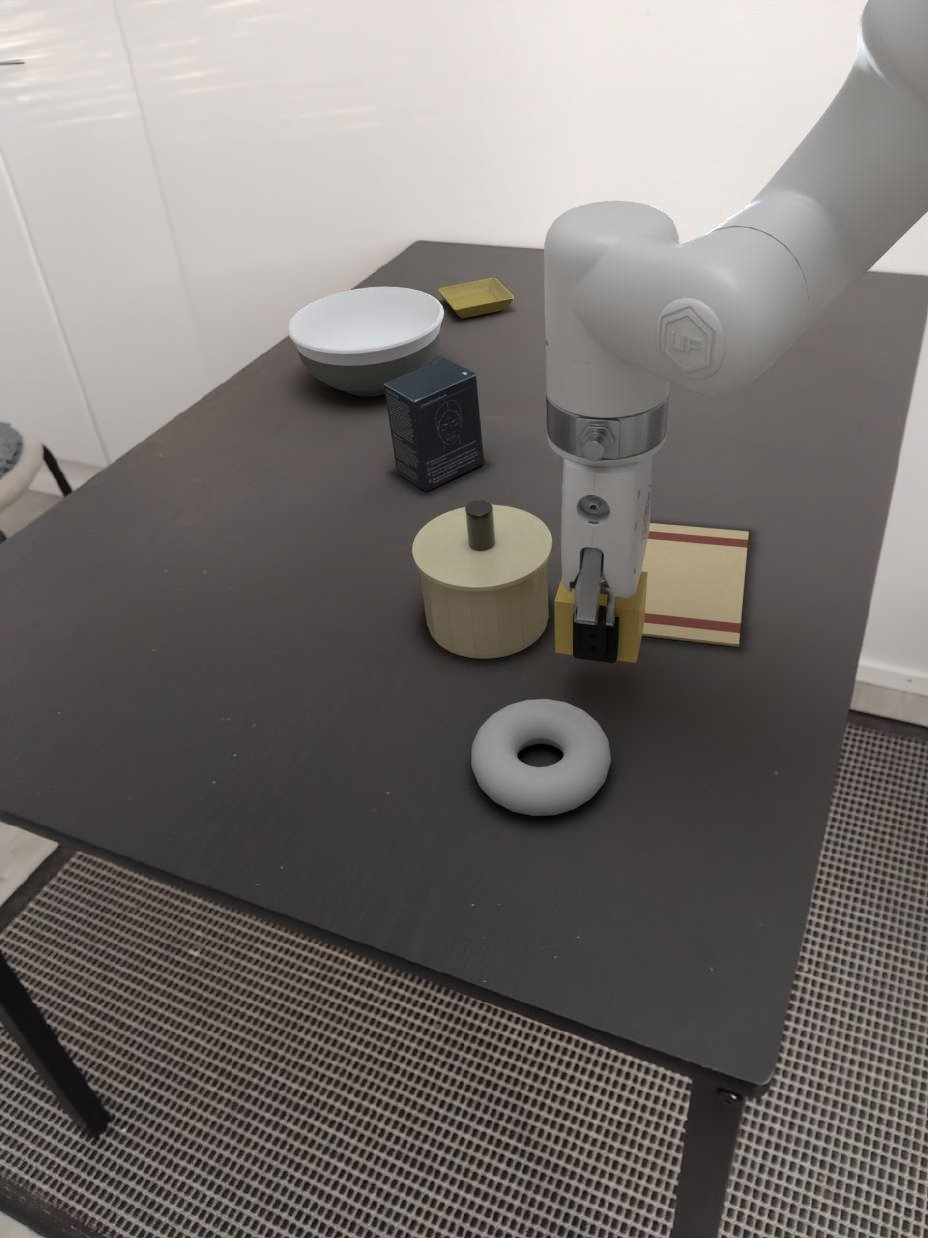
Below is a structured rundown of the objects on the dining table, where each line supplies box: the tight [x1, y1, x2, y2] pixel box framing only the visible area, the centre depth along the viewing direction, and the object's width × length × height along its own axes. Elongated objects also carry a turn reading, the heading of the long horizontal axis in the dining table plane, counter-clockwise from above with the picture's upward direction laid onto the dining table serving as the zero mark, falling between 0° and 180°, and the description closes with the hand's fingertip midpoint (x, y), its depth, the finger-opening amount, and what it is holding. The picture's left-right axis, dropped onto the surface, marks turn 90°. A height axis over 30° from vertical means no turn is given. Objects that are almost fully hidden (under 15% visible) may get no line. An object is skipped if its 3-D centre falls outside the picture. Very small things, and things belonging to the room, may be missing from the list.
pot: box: [419, 562, 550, 660], centre depth 82 cm, size 10×10×7 cm
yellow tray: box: [437, 277, 515, 319], centre depth 135 cm, size 9×9×2 cm
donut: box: [470, 698, 612, 817], centre depth 70 cm, size 10×4×10 cm
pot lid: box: [411, 499, 553, 592], centre depth 79 cm, size 11×11×5 cm
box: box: [384, 357, 485, 492], centre depth 100 cm, size 8×6×11 cm
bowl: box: [287, 286, 445, 397], centre depth 119 cm, size 19×19×8 cm
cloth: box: [641, 522, 750, 648], centre depth 86 cm, size 10×16×1 cm, turn 165°
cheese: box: [553, 571, 647, 664], centre depth 72 cm, size 6×4×5 cm
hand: (601, 632), depth 73 cm, fingers closed on cheese, 4 cm apart
